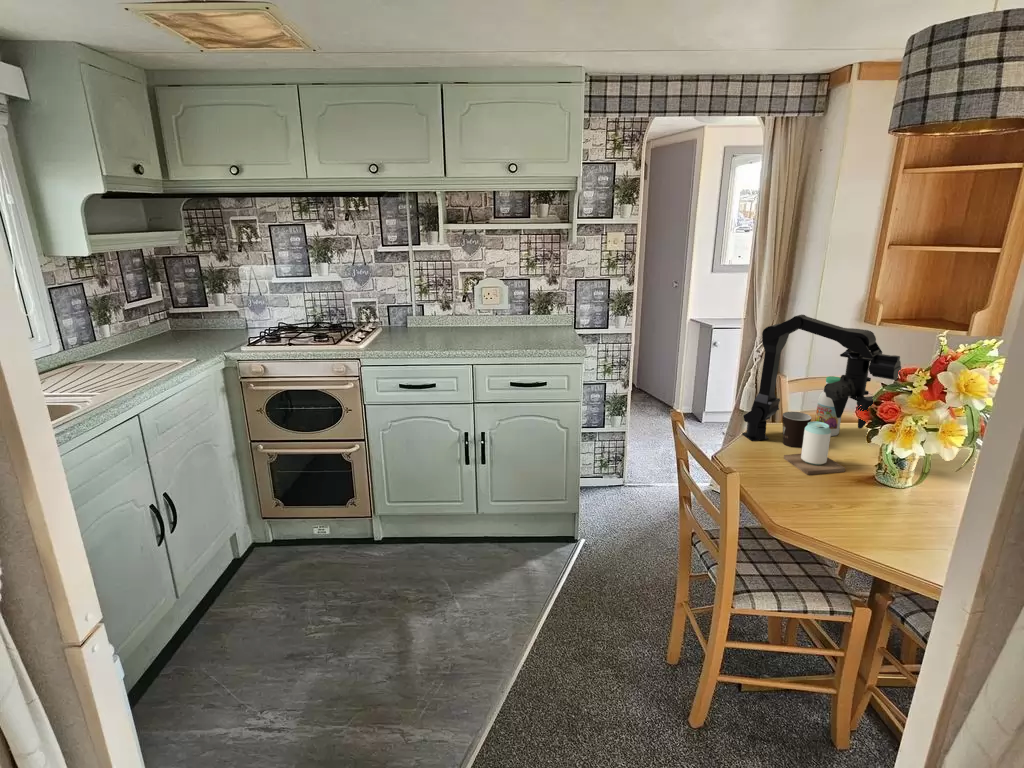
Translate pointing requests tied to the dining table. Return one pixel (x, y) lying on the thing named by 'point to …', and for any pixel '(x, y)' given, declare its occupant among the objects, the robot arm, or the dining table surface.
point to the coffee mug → (794, 428)
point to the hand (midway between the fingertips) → (849, 422)
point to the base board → (814, 469)
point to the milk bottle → (828, 410)
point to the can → (816, 443)
